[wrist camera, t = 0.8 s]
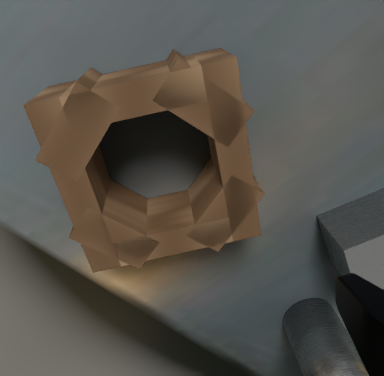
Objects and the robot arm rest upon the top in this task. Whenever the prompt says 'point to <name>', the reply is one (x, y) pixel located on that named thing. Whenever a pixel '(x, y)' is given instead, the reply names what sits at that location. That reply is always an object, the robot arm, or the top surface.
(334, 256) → the grey rectangular block
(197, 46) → the top surface
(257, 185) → the socket block
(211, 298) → the top surface
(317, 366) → the grey cylindrical bottle
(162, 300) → the top surface
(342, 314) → the robot arm
